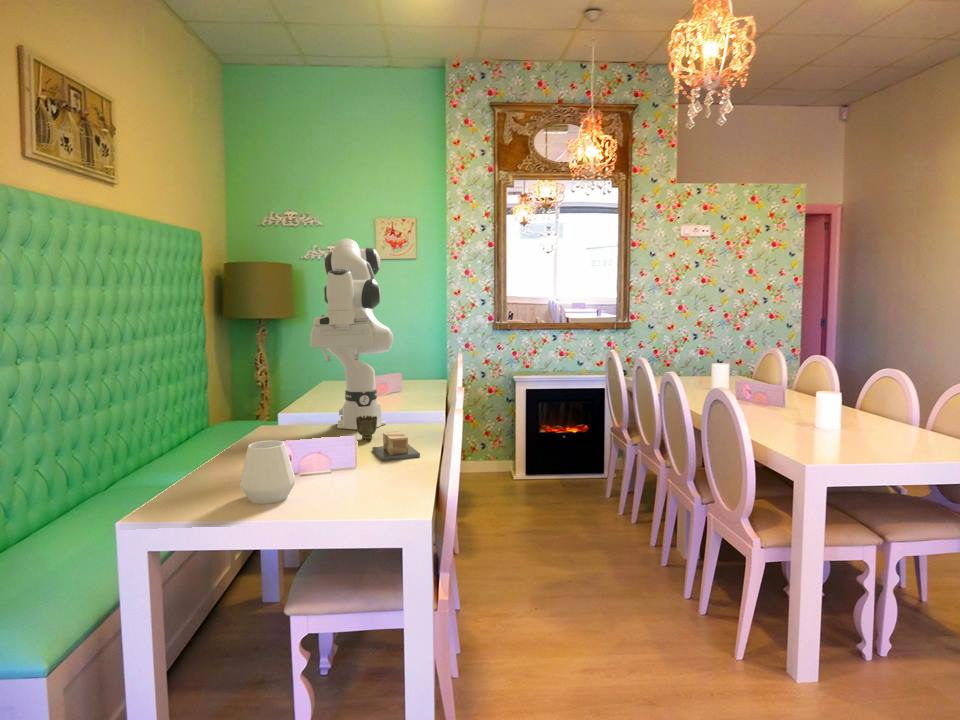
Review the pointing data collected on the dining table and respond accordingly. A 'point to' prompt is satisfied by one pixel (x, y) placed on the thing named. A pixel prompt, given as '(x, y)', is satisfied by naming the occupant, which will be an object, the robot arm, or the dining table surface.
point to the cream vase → (267, 472)
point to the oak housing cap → (395, 442)
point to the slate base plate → (387, 456)
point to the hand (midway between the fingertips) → (342, 360)
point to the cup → (366, 426)
